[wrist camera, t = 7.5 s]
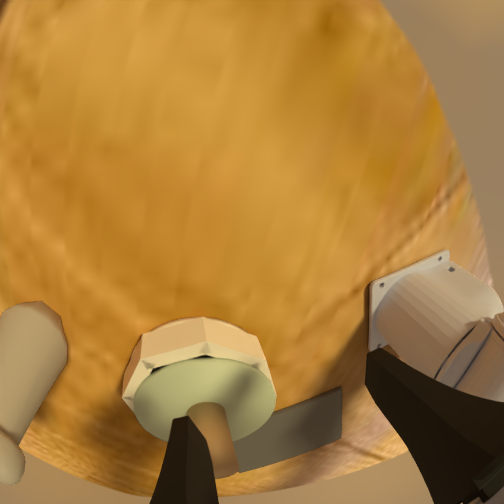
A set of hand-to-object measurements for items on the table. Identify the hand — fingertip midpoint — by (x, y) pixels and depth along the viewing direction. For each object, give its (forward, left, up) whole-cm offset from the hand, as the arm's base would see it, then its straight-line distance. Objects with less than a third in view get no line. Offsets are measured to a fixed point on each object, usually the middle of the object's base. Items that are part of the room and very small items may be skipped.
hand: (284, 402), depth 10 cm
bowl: (+5, +7, -10) cm, 13 cm away
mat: (0, +22, -10) cm, 24 cm away
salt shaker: (+15, -1, -11) cm, 18 cm away
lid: (+5, +8, -7) cm, 12 cm away
